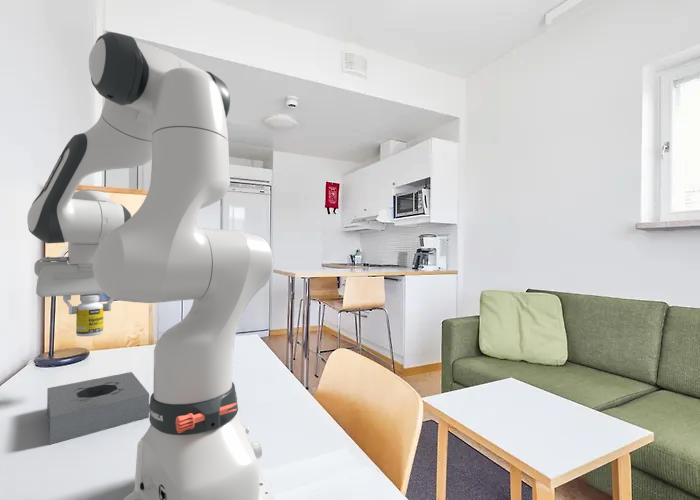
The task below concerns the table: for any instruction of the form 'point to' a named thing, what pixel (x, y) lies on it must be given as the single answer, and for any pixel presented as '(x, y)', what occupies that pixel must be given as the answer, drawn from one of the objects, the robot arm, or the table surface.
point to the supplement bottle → (89, 316)
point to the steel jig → (95, 406)
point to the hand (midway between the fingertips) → (90, 312)
